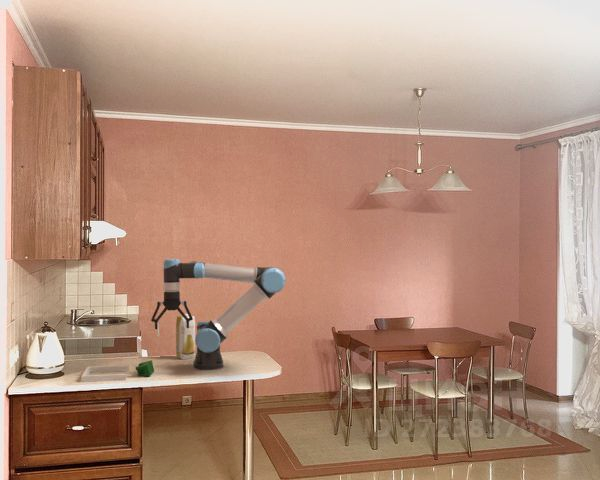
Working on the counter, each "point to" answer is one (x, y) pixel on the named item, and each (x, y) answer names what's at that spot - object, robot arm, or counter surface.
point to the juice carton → (185, 338)
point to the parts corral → (88, 378)
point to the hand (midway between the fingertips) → (172, 335)
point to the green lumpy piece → (145, 368)
